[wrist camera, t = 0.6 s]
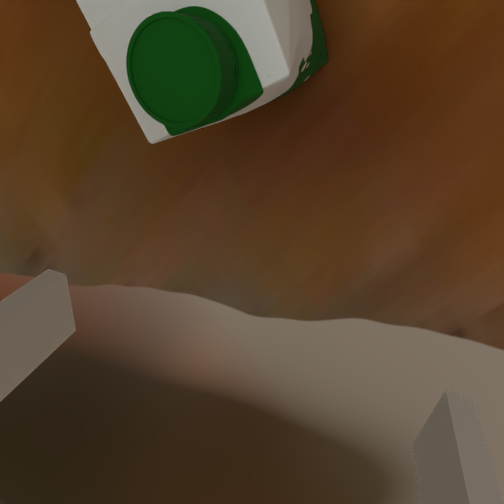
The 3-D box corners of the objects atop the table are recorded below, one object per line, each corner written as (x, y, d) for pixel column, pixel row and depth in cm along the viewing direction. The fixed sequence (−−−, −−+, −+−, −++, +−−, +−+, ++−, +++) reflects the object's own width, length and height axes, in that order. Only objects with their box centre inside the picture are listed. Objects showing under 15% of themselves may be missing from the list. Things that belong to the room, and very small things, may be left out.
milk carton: (249, 111, 33) (121, 171, 16) (205, 4, 30) (-7, -57, 13) (343, 67, 29) (302, 86, 13) (304, -61, 26) (180, -258, 10)
